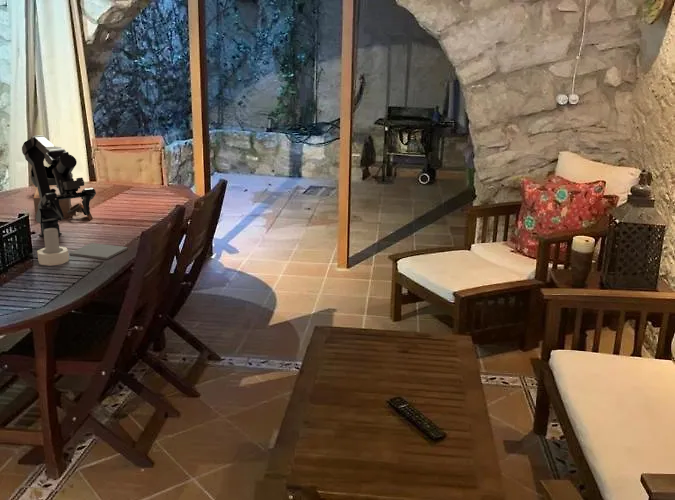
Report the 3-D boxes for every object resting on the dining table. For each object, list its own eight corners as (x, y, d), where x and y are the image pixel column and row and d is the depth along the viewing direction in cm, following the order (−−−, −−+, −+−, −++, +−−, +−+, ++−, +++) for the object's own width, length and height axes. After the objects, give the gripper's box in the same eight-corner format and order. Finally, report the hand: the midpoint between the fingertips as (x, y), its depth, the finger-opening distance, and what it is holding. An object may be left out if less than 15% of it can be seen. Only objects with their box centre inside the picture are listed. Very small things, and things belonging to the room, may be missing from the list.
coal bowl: (82, 193, 353) (79, 157, 348) (48, 200, 337) (44, 162, 331) (58, 188, 363) (54, 153, 358) (24, 194, 347) (20, 158, 342)
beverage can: (49, 258, 252) (45, 227, 248) (62, 258, 252) (59, 227, 248) (44, 263, 247) (41, 231, 243) (58, 263, 247) (55, 231, 244)
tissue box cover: (70, 217, 308) (68, 196, 305) (35, 219, 303) (33, 198, 300) (71, 204, 331) (69, 184, 328) (39, 206, 326) (36, 185, 323)
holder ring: (32, 263, 246) (31, 252, 245) (50, 255, 255) (49, 245, 254) (56, 266, 244) (55, 256, 242) (74, 258, 253) (73, 248, 252)
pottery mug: (89, 223, 302) (78, 208, 298) (73, 230, 304) (61, 215, 301) (99, 210, 312) (88, 195, 308) (83, 217, 315) (72, 203, 311)
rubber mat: (69, 254, 257) (69, 252, 256) (91, 244, 269) (91, 242, 269) (106, 259, 253) (106, 257, 252) (127, 249, 266) (127, 247, 265)
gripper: (43, 173, 244) (55, 212, 242) (94, 167, 256) (106, 205, 254) (36, 185, 253) (48, 224, 250) (85, 180, 265) (97, 216, 262)
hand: (75, 217), depth 254 cm, fingers open, 9 cm apart
